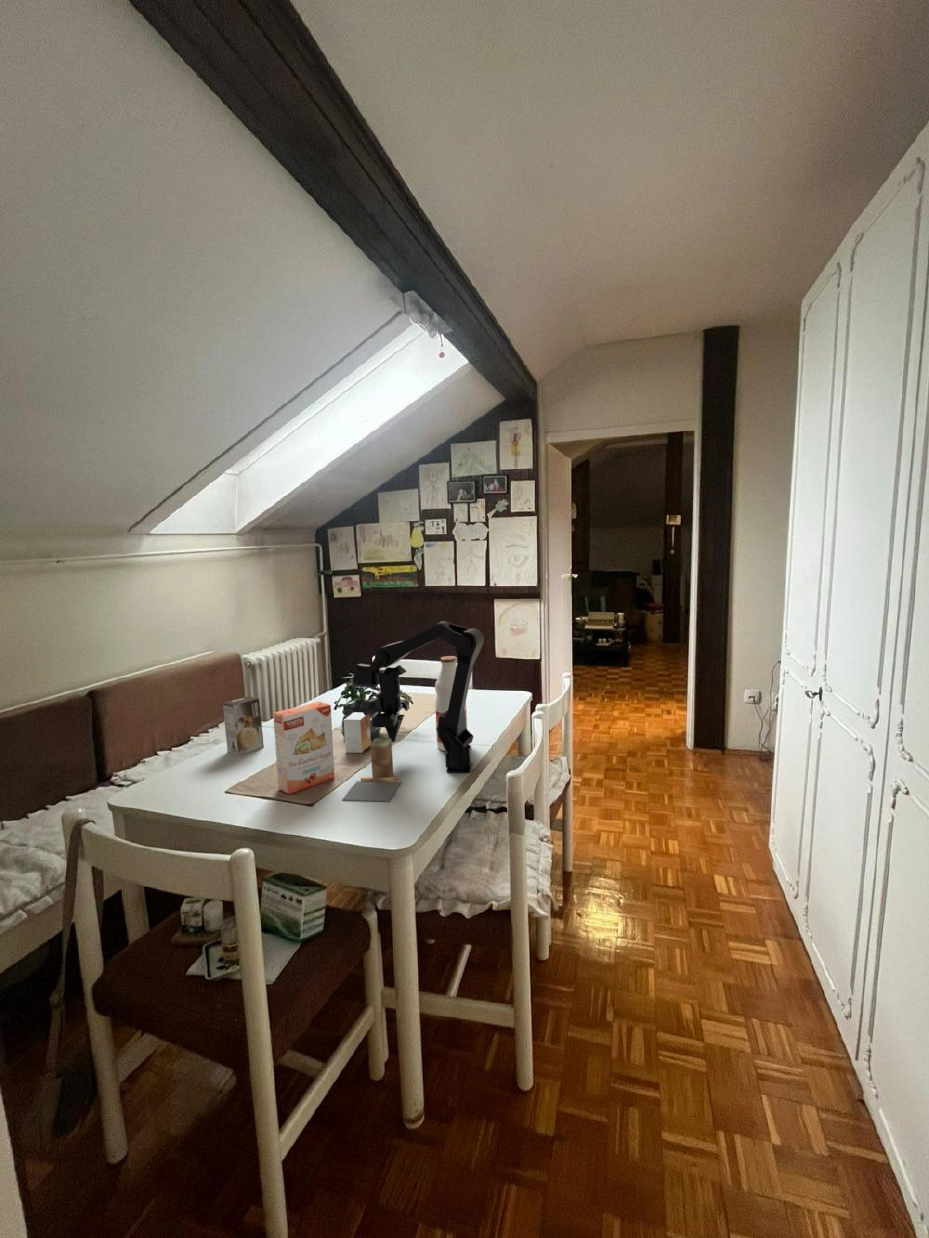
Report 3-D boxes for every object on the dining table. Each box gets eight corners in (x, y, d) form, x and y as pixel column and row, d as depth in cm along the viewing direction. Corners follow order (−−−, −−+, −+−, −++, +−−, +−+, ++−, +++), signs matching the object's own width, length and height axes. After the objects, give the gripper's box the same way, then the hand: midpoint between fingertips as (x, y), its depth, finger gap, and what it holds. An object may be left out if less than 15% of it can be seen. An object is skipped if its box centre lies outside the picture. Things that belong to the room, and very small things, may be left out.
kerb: (398, 781, 155) (398, 777, 155) (397, 782, 154) (397, 779, 154) (362, 780, 156) (361, 776, 156) (360, 781, 155) (360, 778, 155)
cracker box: (289, 796, 148) (283, 716, 146) (277, 789, 153) (271, 712, 150) (336, 778, 158) (331, 703, 155) (324, 773, 162) (319, 700, 160)
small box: (362, 753, 177) (360, 719, 175) (345, 752, 178) (342, 719, 176) (371, 744, 184) (369, 712, 183) (355, 743, 186) (353, 711, 184)
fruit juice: (449, 754, 173) (445, 662, 169) (431, 746, 180) (426, 657, 177) (473, 746, 179) (470, 657, 175) (454, 739, 186) (451, 653, 182)
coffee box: (252, 743, 189) (248, 695, 187) (264, 747, 185) (260, 698, 183) (226, 752, 182) (221, 702, 180) (238, 756, 178) (233, 705, 176)
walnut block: (393, 773, 160) (391, 738, 159) (388, 780, 156) (386, 744, 154) (377, 773, 161) (375, 738, 160) (372, 779, 156) (370, 744, 155)
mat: (400, 783, 154) (400, 782, 153) (389, 801, 143) (389, 800, 143) (357, 782, 155) (356, 781, 155) (342, 800, 145) (342, 799, 145)
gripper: (372, 681, 177) (375, 730, 179) (351, 697, 158) (355, 752, 160) (408, 681, 175) (410, 731, 177) (391, 697, 157) (394, 753, 159)
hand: (392, 741), depth 168 cm, fingers closed
